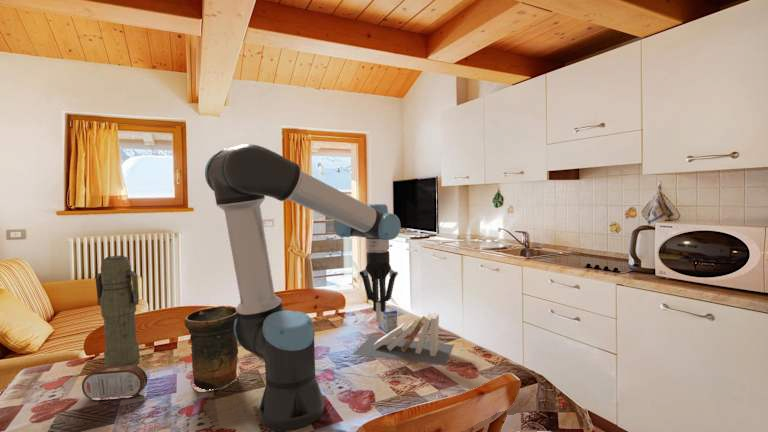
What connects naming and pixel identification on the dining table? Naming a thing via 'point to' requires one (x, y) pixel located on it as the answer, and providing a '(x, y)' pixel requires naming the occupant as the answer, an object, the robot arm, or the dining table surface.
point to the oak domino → (413, 334)
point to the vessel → (213, 346)
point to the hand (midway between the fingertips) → (379, 320)
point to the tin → (114, 382)
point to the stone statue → (118, 310)
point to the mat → (409, 355)
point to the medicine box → (388, 320)
